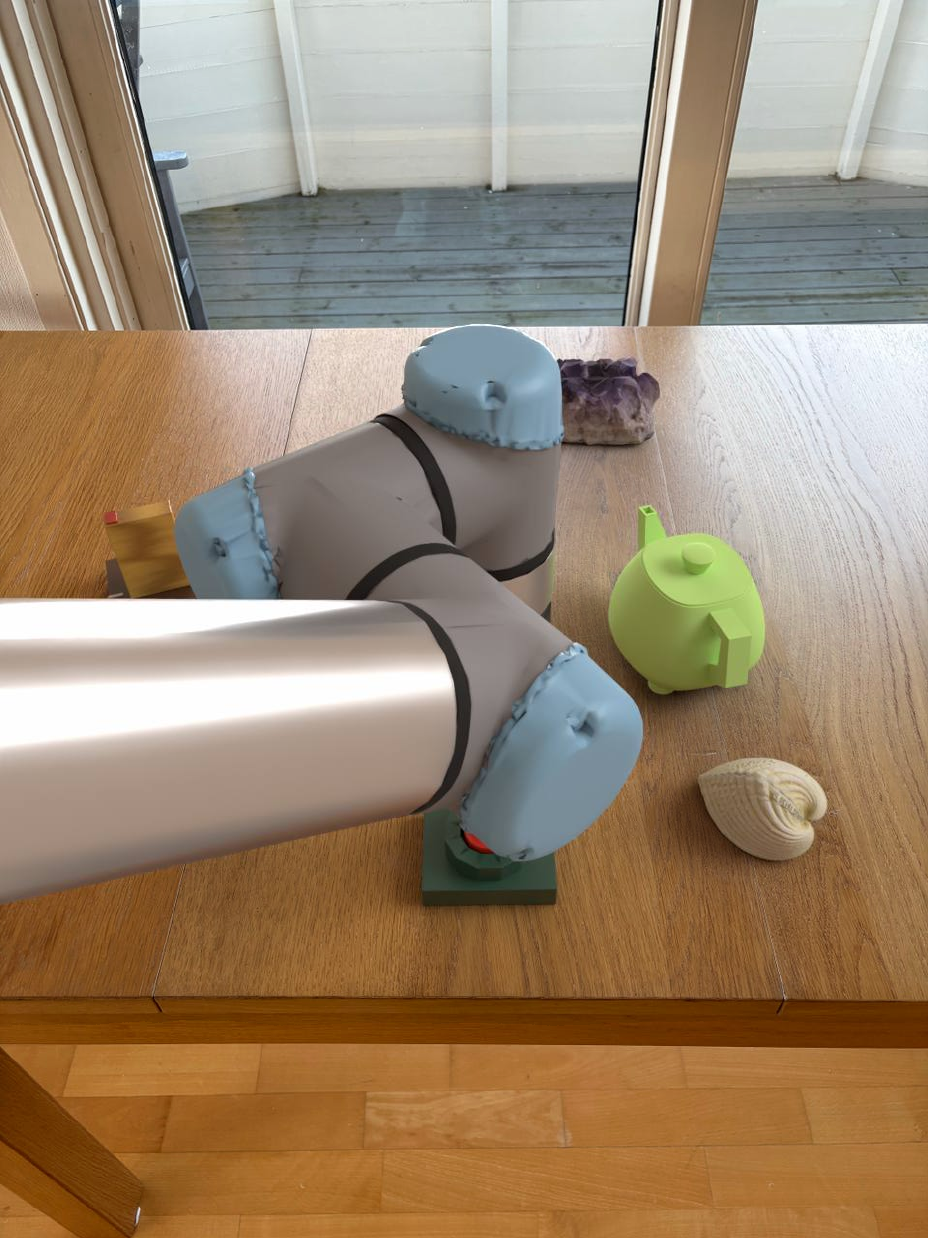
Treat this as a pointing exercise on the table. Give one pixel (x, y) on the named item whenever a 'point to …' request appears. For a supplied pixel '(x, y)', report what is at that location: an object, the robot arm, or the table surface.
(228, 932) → the table surface
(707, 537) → the teapot
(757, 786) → the seashell
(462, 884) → the button block
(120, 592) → the plate
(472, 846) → the button
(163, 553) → the handle
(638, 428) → the geode
